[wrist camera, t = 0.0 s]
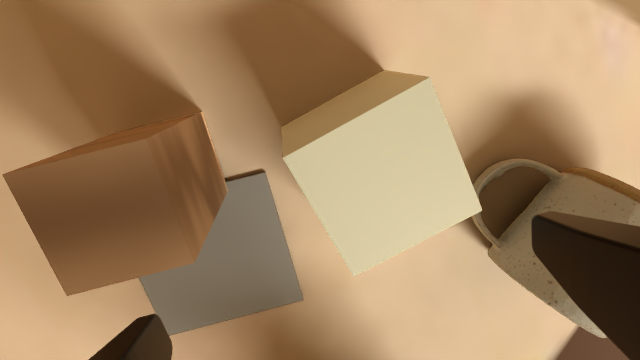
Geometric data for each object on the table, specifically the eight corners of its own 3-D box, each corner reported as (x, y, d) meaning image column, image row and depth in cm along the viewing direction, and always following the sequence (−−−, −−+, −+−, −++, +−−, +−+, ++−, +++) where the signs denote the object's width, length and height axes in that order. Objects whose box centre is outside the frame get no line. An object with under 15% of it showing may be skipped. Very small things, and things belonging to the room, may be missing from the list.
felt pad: (303, 298, 26) (303, 300, 26) (168, 334, 26) (167, 336, 26) (265, 171, 23) (264, 172, 22) (108, 211, 22) (107, 212, 22)
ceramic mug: (613, 197, 26) (740, 250, 19) (539, 282, 28) (628, 361, 21) (508, 123, 24) (608, 151, 16) (434, 222, 25) (494, 288, 18)
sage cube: (426, 167, 24) (482, 210, 17) (333, 216, 24) (353, 276, 18) (383, 69, 21) (429, 77, 15) (281, 126, 22) (282, 158, 15)
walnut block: (228, 190, 22) (194, 263, 14) (149, 209, 22) (66, 295, 14) (202, 111, 21) (145, 138, 12) (117, 132, 21) (2, 174, 12)
